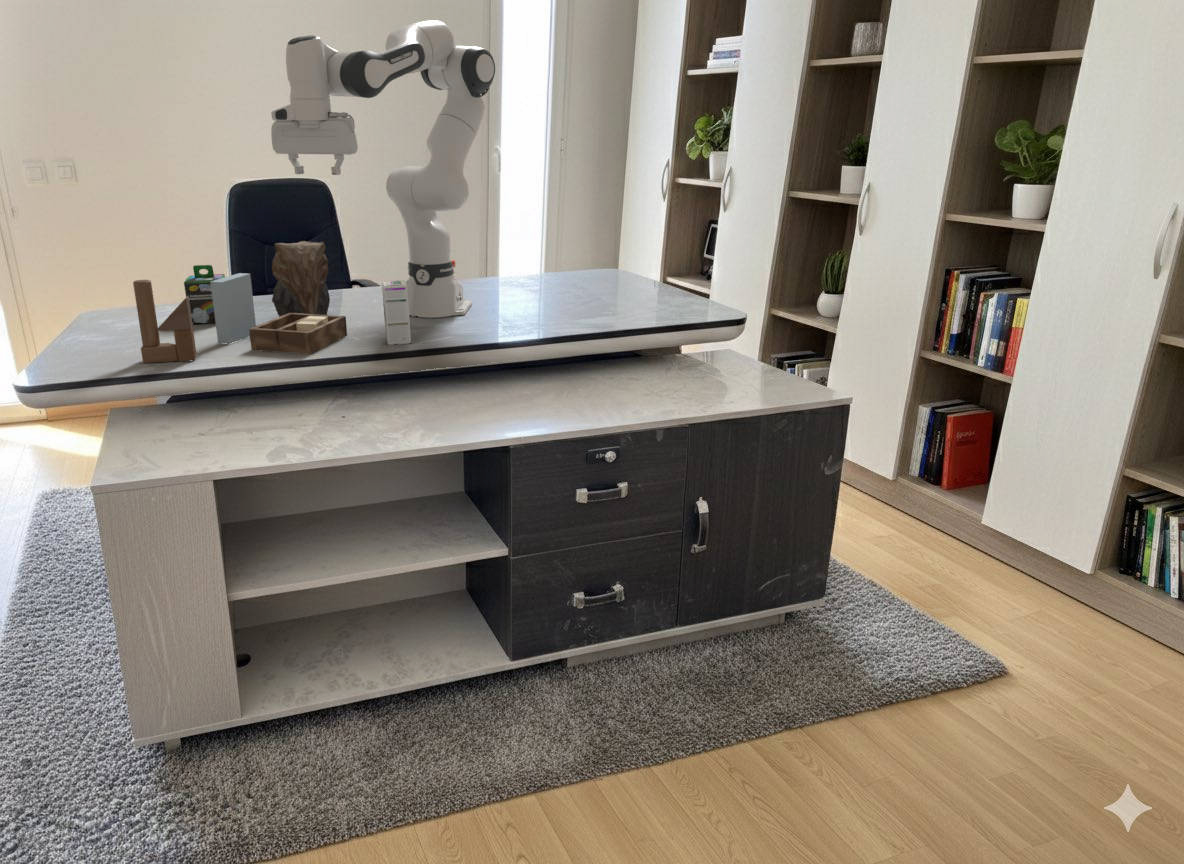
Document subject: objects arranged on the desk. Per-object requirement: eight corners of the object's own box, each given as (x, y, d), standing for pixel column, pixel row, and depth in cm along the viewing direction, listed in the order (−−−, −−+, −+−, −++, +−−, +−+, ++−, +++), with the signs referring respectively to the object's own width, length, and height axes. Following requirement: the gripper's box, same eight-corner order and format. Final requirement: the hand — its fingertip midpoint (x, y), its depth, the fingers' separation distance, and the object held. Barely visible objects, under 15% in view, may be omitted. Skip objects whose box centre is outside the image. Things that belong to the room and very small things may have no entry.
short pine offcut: (310, 324, 226) (309, 316, 226) (328, 324, 226) (327, 316, 225) (297, 331, 219) (296, 323, 218) (315, 332, 218) (315, 324, 218)
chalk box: (230, 316, 251) (224, 261, 246) (226, 323, 243) (219, 266, 238) (194, 317, 249) (187, 262, 244) (188, 325, 241) (181, 267, 236)
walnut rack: (291, 332, 234) (289, 312, 233) (347, 335, 231) (345, 316, 230) (251, 349, 217) (249, 329, 216) (311, 354, 214) (309, 333, 213)
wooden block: (195, 361, 208) (184, 281, 202) (142, 363, 205) (130, 282, 199) (197, 357, 211) (186, 278, 205) (145, 359, 208) (133, 279, 202)
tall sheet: (245, 332, 233) (239, 273, 228) (256, 333, 233) (250, 273, 228) (218, 344, 222) (210, 281, 217) (229, 344, 222) (221, 282, 217)
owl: (272, 320, 247) (264, 244, 240) (301, 310, 258) (294, 238, 252) (312, 324, 243) (305, 247, 236) (340, 314, 254) (334, 240, 248)
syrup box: (411, 343, 225) (408, 284, 220) (386, 345, 223) (383, 285, 218) (409, 338, 230) (406, 280, 225) (384, 339, 228) (381, 280, 223)
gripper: (359, 111, 214) (364, 173, 219) (279, 111, 218) (286, 172, 223) (346, 112, 208) (352, 176, 213) (264, 112, 213) (272, 174, 218)
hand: (318, 174), depth 218 cm, fingers open, 8 cm apart
